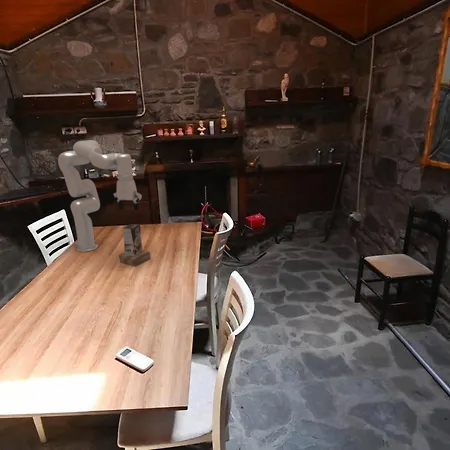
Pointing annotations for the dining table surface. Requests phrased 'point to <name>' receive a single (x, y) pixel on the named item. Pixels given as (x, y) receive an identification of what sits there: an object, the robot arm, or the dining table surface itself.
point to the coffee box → (132, 240)
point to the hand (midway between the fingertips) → (129, 209)
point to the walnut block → (135, 258)
